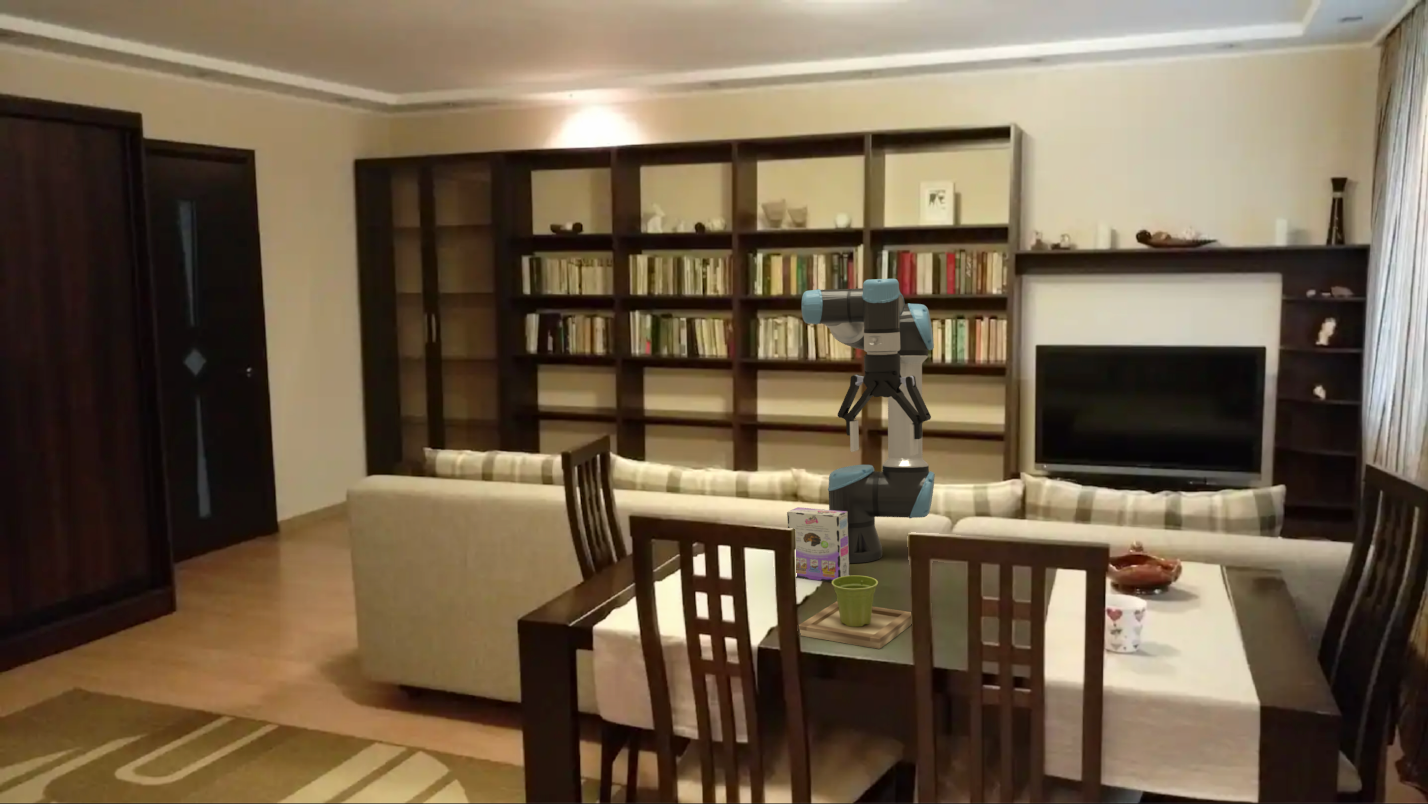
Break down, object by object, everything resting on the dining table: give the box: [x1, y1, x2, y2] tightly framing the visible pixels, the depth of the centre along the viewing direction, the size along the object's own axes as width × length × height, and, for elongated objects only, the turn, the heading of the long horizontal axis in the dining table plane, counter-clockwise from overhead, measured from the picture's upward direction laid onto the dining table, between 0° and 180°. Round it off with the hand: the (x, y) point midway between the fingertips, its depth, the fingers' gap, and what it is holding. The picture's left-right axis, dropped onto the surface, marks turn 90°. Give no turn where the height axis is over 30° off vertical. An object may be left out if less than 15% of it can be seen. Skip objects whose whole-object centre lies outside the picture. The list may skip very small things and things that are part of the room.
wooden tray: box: [798, 600, 911, 650], centre depth 218 cm, size 18×18×2 cm
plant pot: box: [831, 574, 879, 627], centre depth 218 cm, size 9×9×9 cm
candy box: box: [786, 507, 850, 583], centre depth 255 cm, size 14×6×16 cm, turn 58°
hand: (884, 452), depth 224 cm, fingers open, 13 cm apart
